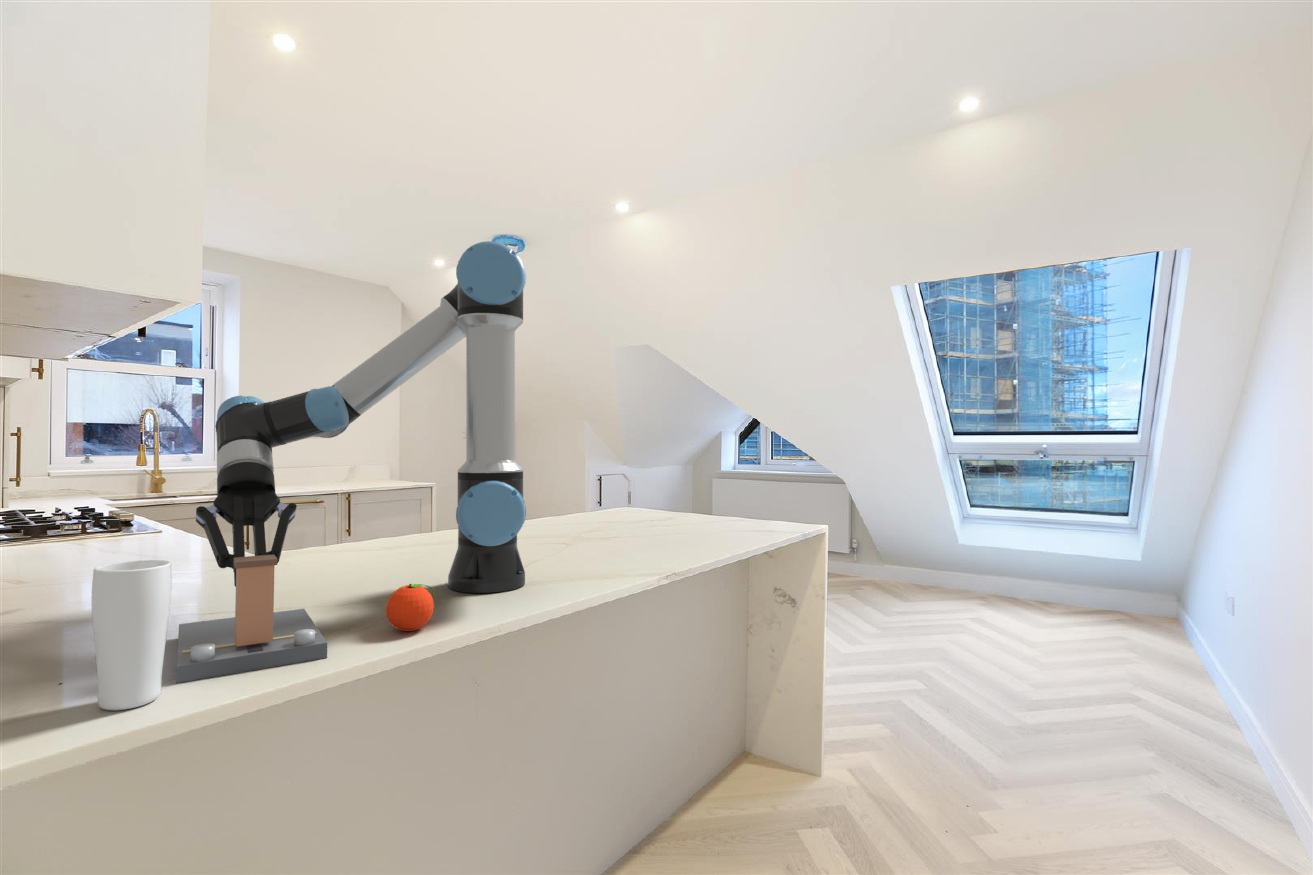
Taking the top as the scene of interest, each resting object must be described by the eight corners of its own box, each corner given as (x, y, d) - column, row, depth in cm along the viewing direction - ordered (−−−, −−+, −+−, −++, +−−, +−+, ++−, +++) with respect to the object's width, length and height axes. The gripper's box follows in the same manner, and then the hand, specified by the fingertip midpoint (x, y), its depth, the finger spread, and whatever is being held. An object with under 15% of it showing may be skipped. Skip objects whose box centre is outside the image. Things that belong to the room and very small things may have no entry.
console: (303, 621, 101) (304, 599, 101) (327, 657, 84) (327, 631, 84) (178, 637, 92) (179, 613, 92) (176, 683, 75) (177, 653, 75)
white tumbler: (76, 707, 68) (80, 566, 68) (150, 686, 74) (153, 557, 74) (106, 720, 65) (110, 573, 65) (181, 697, 71) (184, 563, 71)
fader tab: (272, 633, 86) (274, 554, 86) (275, 641, 83) (277, 558, 83) (231, 639, 84) (233, 557, 84) (233, 647, 80) (235, 562, 81)
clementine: (420, 619, 103) (421, 576, 103) (448, 627, 99) (449, 581, 99) (375, 631, 96) (376, 585, 96) (404, 640, 93) (405, 591, 93)
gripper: (291, 490, 105) (303, 613, 92) (194, 492, 98) (191, 627, 84) (296, 459, 101) (309, 583, 88) (195, 459, 93) (193, 595, 80)
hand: (252, 604), depth 86 cm, fingers closed
